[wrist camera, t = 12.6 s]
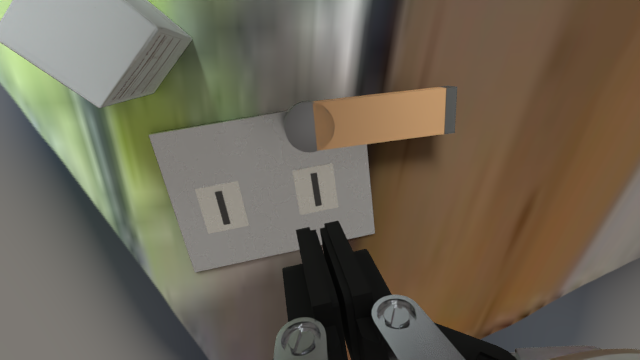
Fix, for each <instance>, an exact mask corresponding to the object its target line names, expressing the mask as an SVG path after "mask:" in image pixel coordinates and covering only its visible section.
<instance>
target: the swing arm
mask: <svg viewBox="0 0 640 360" xmlns="http://www.w3.org/2000/svg"><path fill="white" fill-rule="evenodd" d="M456 99H457V87H454V86H442V87H434V88H426V89H417V90H408V91H399V92H390V93H381V94H372V95H363V96H354V97H345V98H337V99H328V100H319V101H303V102H300V103H297V104H296V105H294V106H293V107H292V108H291V109H290V110H289V111H288V113H287V115H286V117H285V121H284V130H285V133H286V136H287V139H288V141H289V142H290V143H291V145H292V146H293V147H295V148H296V149H298V150H300V151H303V152H309V153H310V152H316V151H319V150H327V149H334V148H342V147H349V146H357V145H365V144H372V143H380V142H387V141H395V140H402V139H410V138H417V137H425V136H432V135H440V134H449V133H455V117H456Z"/></svg>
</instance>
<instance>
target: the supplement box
mask: <svg viewBox="0 0 640 360" xmlns="http://www.w3.org/2000/svg"><path fill="white" fill-rule="evenodd" d="M191 41H192V37H190V36H189V35H188V34H187V33H186V32H185V31H184V30H182V29H181V28H180V27H179V26H178V25H177V24H175V23H174V22H173V21H172V20H171V19H169V18H168V17H167V16H166V15H165V14H164V13H162V12H161V11H160V10H159V9H157V8H156V7H155V6H154V5H152V4H151V3H150V2H149V1H148V0H13V1H12V3H11V4H10V6H9V8H8V9H7V11H6V13H5V14H4V16H3V17H2V19H1V21H0V42H1V43H2V44H4V45H5V46H7V47H8V48H10V49H11V50H13V51H14V52H15V53H17V54H18V55H20V56H21V57H23V58H24V59H26V60H27V61H29V62H30V63H32V64H33V65H35V66H36V67H38V68H39V69H41V70H42V71H44V72H45V73H47V74H48V75H50V76H52V77H53V78H55V79H56V80H58V81H59V82H61V83H62V84H64V85H65V86H67V87H68V88H70V89H71V90H73V91H74V92H76V93H77V94H79V95H80V96H82V97H83V98H85V99H86V100H88V101H89V102H91V103H93V104H94V105H95V106H97V107H98V108H102V107H105V106H109V105H113V104H116V103H120V102H124V101H127V100H131V99H135V98H138V97H142V96H146V95H150V94H153V93H155V91H156V90H157V88H158V87H159V85H160V84H161V82H162V81H163V80H164V78H165V77H166V75H167V74H168V73H169V71H170V70H171V69H172V67H173V66H174V64H175V63H176V62H177V60H178V59H179V57H180V56H181V55H182V53H183V52H184V51H185V49H186V48H187V46H188V45H189V43H190V42H191Z"/></svg>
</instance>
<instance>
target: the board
mask: <svg viewBox="0 0 640 360" xmlns="http://www.w3.org/2000/svg"><path fill="white" fill-rule="evenodd" d="M288 111H289V110H287V111H282V112H276V113H270V114H264V115H258V116H252V117H246V118H240V119H234V120H228V121H222V122H216V123H210V124H204V125H198V126H192V127H186V128H180V129H174V130H168V131H162V132H156V133H151V134H149V138H150V141H151V144H152V147H153V149H154V152H155V155H156V158H157V161H158V164H159V167H160V170H161V173H162V176H163V179H164V182H165V185H166V188H167V191H168V194H169V197H170V200H171V203H172V206H173V209H174V212H175V215H176V218H177V221H178V224H179V227H180V230H181V233H182V236H183V239H184V242H185V244H186V247H187V250H188V253H189V256H190V259H191V262H192V265H193V268H194V271H195V272H199V271H203V270H208V269H213V268H217V267H222V266H227V265H231V264H236V263H240V262H245V261H250V260H254V259H259V258H264V257H268V256H273V255H277V254H282V253H287V252H291V251H296V250H300V249H299V244H298V239H297V234H296V230H297V229H302V228H307V227H310V230H315V229H316V232H317V235H318V238H319V241H320V244H321V245H322V240H321V234H320V228H324V227H325V226H324V224H325V223H329V222H334V221H339V223H340V225H341V227H342V229H343V231H344V234H345V236H346V238H347V239H351V238H356V237H361V236H365V235H370V234H374V233H375V229H374V218H373V207H372V196H371V185H370V174H369V163H368V152H367V144H365V145H357V146H349V147H342V148H334V149H327V150H319V151H316V152H310V153H309V152H303V151H300V150H298V149H296V148H295V147H293V146H292V145H291V143H290V142H289V141H288V139H287V136H286V133H285V130H284V121H285V117H286V115H287V113H288Z"/></svg>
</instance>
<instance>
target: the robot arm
mask: <svg viewBox="0 0 640 360" xmlns="http://www.w3.org/2000/svg"><path fill="white" fill-rule="evenodd" d="M324 226H325V227H324V228H320V234H321V240H322V246H323V250H322V247H321V244H320V241H319V238H318V235H317V232H316V229H315V230H310V227H307V228H302V229H297V230H296V234H297V239H298V244H299V249H300V254H301V259H302V264H299V265H295V266H290V267H286V268H283V269H282V270H283V279H284V288H285V297H286V306H287V314H288V323H287V324H285V325H284V326H283V327H282V328H281V330H280V331H279V333H278V334H277V338H276V342H275V351H274V358H273V360H348V358H347V351H346V345H345V341H346V344H347V347H348V351H349V354H350V357H351V360H640V350H637V349H600V348H597V347H593V346H560V347H538V348H516V349H515V353H509V352H508V351H506V350H504V349H502V348H500V347H498V346H496V345H493V344H490V343H488V342H485V341H482V340H480V339H477V338H474V337H472V336H469V335H466V334H463V333H461V332H458V331H455V330H453V329H450V328H447V327H445V326H442V325H439V324H436V323H434V322H433V321H432V320H431V319H430V318H429V317H428V316H427V314H426V313H425V312H424V311H423V310H422V309H421V307H420V306H419V305H418V304H417V303H416V302H415V301H413V300H412V299H410V298H408V297H406V296H401V295H392V294H391V293H390V291H389V289H388V287H387V285H386V283H385V282H384V280H383V278H382V276H381V274H380V272H379V270H378V269H377V267H376V265H375V263H374V261H373V259H372V258H371V256H370V254H369V252H368V251H367V249H363V250H359V251H355V252H353V251H352V248H351V246H350V244H349V242H348V240H347V238H346V236H345V234H344V231H343V229H342V227H341V225H340V223H339V221H334V222H329V223H325V224H324ZM323 251H324V254H323ZM344 337H345V339H344Z"/></svg>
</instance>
